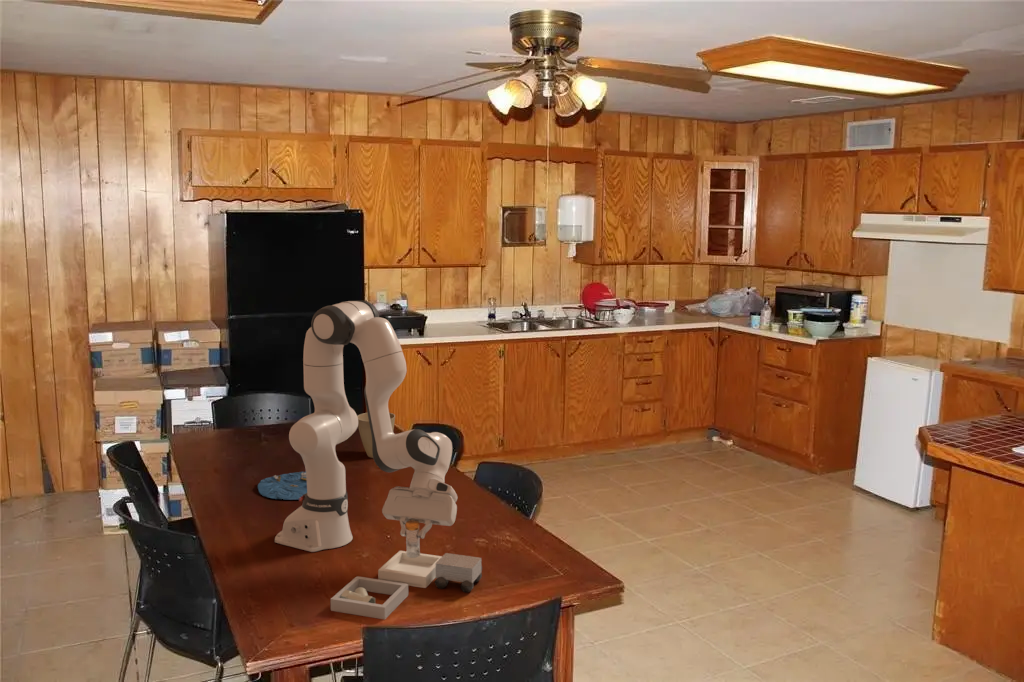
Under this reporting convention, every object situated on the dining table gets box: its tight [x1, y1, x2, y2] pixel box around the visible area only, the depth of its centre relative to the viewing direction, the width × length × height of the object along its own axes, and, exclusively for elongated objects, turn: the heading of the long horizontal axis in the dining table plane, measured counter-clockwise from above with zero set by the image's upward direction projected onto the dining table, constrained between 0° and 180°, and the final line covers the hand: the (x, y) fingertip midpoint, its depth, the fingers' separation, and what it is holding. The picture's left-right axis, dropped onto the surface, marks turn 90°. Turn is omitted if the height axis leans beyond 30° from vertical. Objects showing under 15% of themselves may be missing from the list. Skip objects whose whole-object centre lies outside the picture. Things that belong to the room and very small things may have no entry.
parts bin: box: [330, 576, 409, 620], centre depth 208 cm, size 14×13×3 cm
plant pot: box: [357, 412, 396, 459], centre depth 330 cm, size 15×15×16 cm
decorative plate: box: [257, 471, 307, 501], centre depth 294 cm, size 30×30×5 cm
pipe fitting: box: [341, 587, 377, 604], centre depth 207 cm, size 8×4×7 cm
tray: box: [377, 550, 443, 589], centre depth 224 cm, size 13×13×3 cm
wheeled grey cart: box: [434, 552, 483, 594], centre depth 221 cm, size 10×14×6 cm
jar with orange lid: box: [405, 520, 421, 558], centre depth 223 cm, size 4×4×9 cm
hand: (411, 536), depth 222 cm, fingers closed on jar with orange lid, 3 cm apart
